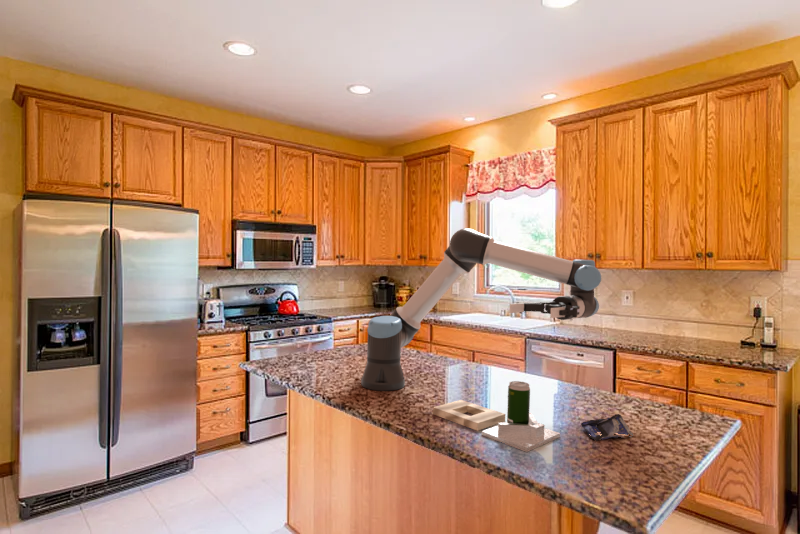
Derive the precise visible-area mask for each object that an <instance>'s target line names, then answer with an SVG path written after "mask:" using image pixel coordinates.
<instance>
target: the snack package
mask: <svg viewBox="0 0 800 534" xmlns="http://www.w3.org/2000/svg"><path fill="white" fill-rule="evenodd" d="M604 417H605V418H599V419H590V420H587V421H583V422H581V423H580V426H581V428H583V429H584V430H585V432H586V434H587V435H588V434H590V435H591V436H590V435H588V437H589V439H591V440H593V439H594V440H593V441H595V440H596V441H595V442H599V441H601V439H602V440H607V439H611V438H618V437H621V438H620V439H624V436H618V435H613V434H615V433H618V434H625V435H628V434H630V435H632V436H631V437H633V436H634V433H633V432H632V431H631V430H630V427H629V426H628V425H627V423H626V422H625V419H624V418H623V416H622V415H621V414H620V413H616V414H614V415H612V416H610V417H607V415H605V416H604ZM597 432H601V433H600V434H602V435H601V436H600V435H597V434H596V433H597ZM598 440H599V441H598Z"/></svg>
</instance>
